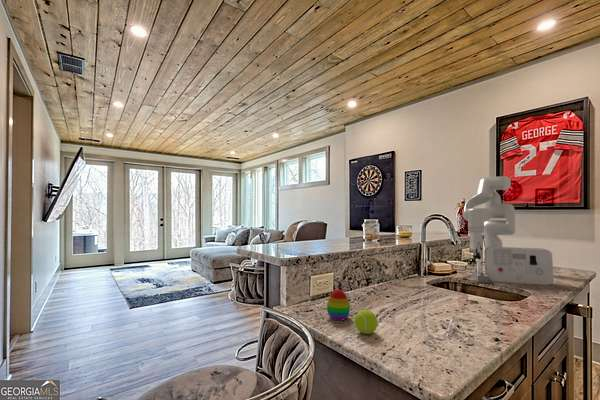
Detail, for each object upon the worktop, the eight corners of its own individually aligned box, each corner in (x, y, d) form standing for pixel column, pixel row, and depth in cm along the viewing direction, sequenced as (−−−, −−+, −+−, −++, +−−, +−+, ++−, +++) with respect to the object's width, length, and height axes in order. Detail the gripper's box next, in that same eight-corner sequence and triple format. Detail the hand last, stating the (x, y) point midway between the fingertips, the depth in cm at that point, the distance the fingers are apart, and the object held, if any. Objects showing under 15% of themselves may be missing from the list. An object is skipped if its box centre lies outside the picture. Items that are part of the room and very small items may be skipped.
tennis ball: (365, 326, 94) (365, 305, 95) (382, 334, 88) (381, 311, 89) (350, 331, 91) (349, 309, 91) (366, 339, 85) (365, 316, 85)
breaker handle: (476, 274, 160) (475, 258, 160) (481, 274, 159) (480, 259, 160) (477, 275, 157) (476, 259, 158) (482, 275, 157) (481, 259, 157)
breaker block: (471, 276, 165) (471, 270, 165) (481, 276, 164) (481, 270, 164) (477, 282, 151) (477, 275, 151) (488, 283, 150) (488, 276, 150)
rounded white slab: (488, 282, 152) (487, 248, 153) (485, 279, 159) (484, 246, 160) (556, 286, 142) (554, 250, 142) (548, 283, 149) (547, 248, 150)
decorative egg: (322, 318, 102) (322, 290, 103) (335, 312, 108) (334, 285, 109) (342, 323, 97) (341, 294, 97) (354, 317, 103) (353, 289, 104)
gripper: (466, 229, 171) (467, 260, 170) (471, 230, 157) (472, 264, 156) (480, 229, 168) (481, 260, 167) (487, 230, 154) (488, 265, 153)
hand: (477, 262), depth 162 cm, fingers closed
